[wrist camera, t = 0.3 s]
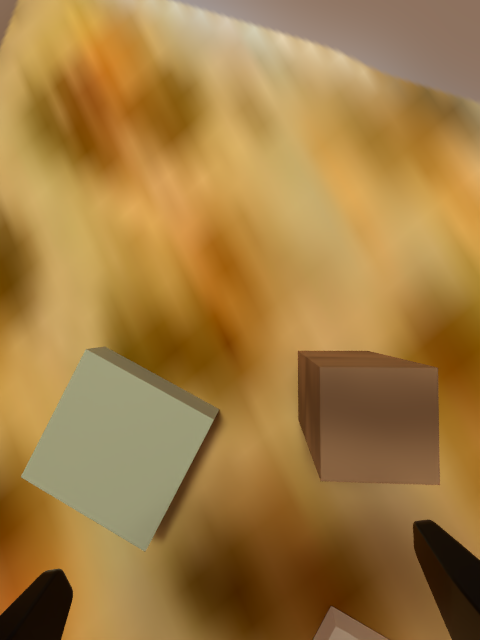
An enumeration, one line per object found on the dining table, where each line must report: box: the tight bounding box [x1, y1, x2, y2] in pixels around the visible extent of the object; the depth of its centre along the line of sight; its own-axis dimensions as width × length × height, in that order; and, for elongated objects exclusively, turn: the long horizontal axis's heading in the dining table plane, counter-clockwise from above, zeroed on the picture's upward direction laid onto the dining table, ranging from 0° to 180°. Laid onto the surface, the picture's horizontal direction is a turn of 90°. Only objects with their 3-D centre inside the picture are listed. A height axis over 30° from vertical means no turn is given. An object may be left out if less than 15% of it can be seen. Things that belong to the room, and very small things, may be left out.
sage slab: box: [21, 347, 219, 551], centre depth 23 cm, size 10×10×3 cm
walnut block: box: [298, 351, 440, 485], centre depth 18 cm, size 5×5×9 cm
